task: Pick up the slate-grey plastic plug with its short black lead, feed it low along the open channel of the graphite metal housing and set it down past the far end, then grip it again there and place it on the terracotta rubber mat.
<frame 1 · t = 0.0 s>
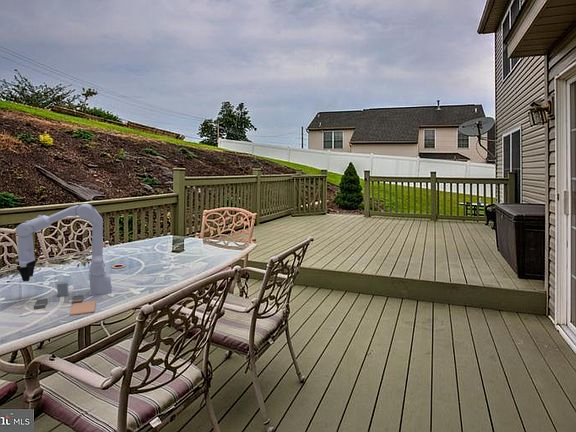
hand: (28, 278, 162), 10 cm above the table, tool pointing down, fingers open, 7 cm apart
mat: (83, 308, 154), on the table
housing: (59, 303, 160), on the table
plug: (63, 294, 170), on the table
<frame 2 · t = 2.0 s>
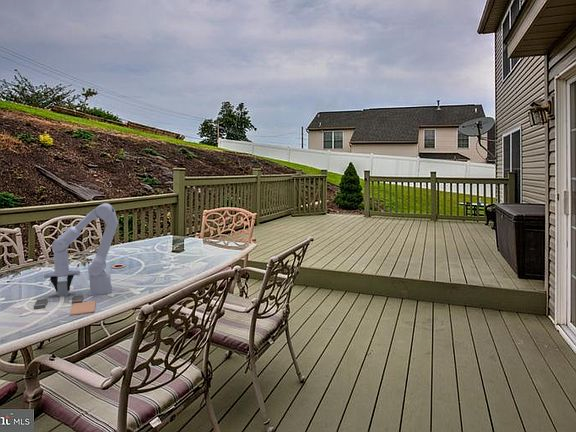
hand: (63, 291, 170), 2 cm above the table, tool pointing down, fingers closed on plug, 4 cm apart
plug: (63, 294, 170), on the table, touching gripper
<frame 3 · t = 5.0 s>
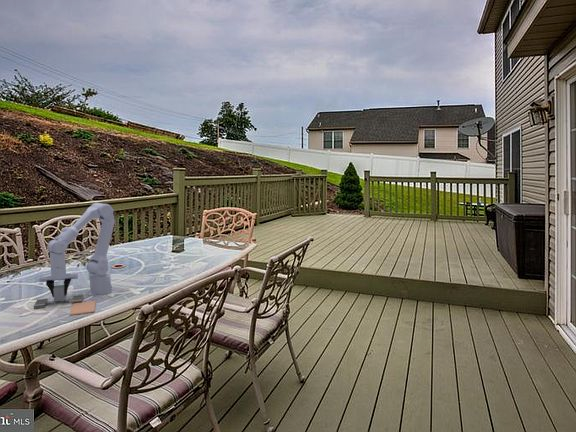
hand: (59, 295, 161), 3 cm above the table, tool pointing down, fingers closed on plug, 4 cm apart
plug: (60, 299, 161), point 1 cm above the table, touching gripper
when the fingers open (2 cm above the table, at t = 8.3 s): plug stays where it is, on the table.
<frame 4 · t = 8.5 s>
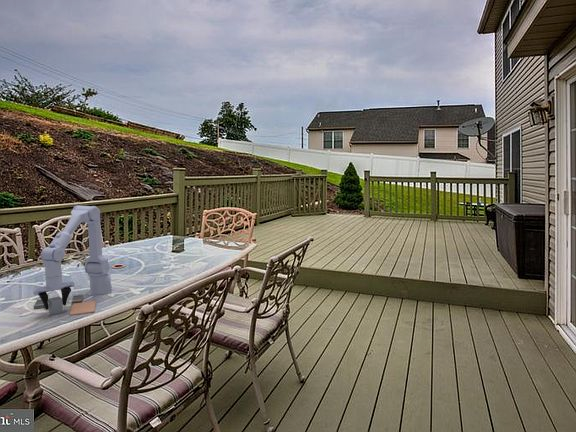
hand: (55, 307, 149), 2 cm above the table, tool pointing down, fingers open, 6 cm apart
plug: (56, 312, 150), on the table
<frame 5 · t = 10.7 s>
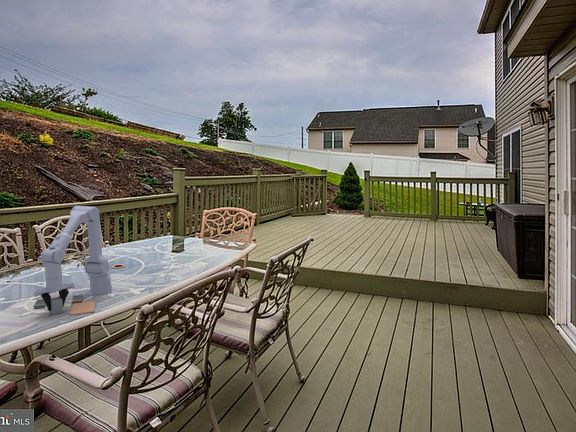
hand: (55, 308, 149), 2 cm above the table, tool pointing down, fingers closed on plug, 4 cm apart
plug: (56, 312, 150), on the table, touching gripper
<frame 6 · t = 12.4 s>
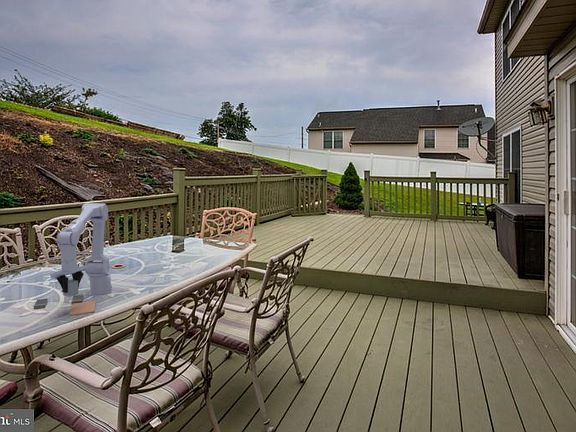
hand: (70, 290, 151), 9 cm above the table, tool pointing down, fingers closed on plug, 4 cm apart
plug: (70, 294, 151), point 7 cm above the table, touching gripper
when the fingers open (3 cm above the table, at t = 14.1 s): plug drops 1 cm, resting on mat.
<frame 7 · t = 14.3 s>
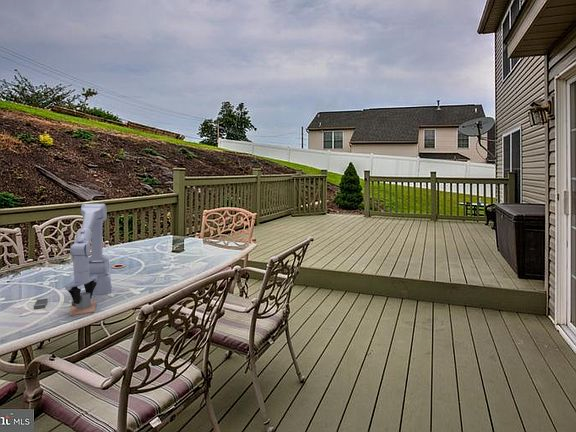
hand: (83, 301, 154), 3 cm above the table, tool pointing down, fingers open, 6 cm apart
plug: (83, 307, 154), point 1 cm above the table, touching mat
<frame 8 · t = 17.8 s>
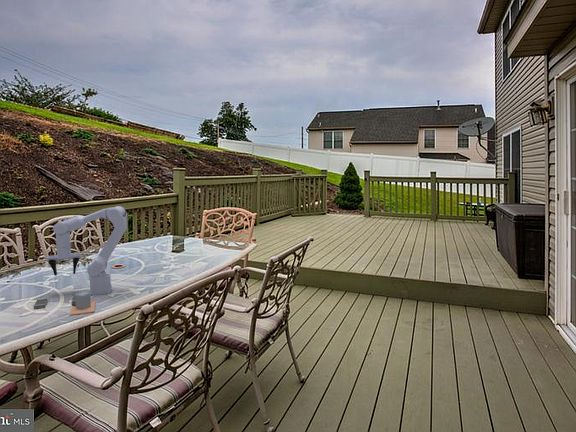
hand: (65, 274, 172), 9 cm above the table, tool pointing down, fingers open, 7 cm apart
nothing on the table moved.
at the end: plug inside the target area on the mat (0.0 cm from its centre), point 0.6 cm above the mat's base; plug tilted 0°; the gripper is holding nothing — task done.
